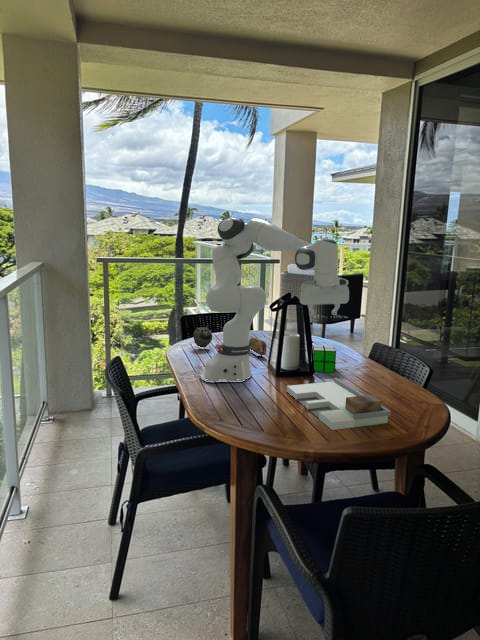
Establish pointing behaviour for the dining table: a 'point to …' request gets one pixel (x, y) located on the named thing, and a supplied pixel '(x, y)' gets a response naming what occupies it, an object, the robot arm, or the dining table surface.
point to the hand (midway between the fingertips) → (323, 315)
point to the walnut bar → (363, 404)
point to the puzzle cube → (324, 358)
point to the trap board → (335, 404)
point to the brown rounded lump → (258, 346)
